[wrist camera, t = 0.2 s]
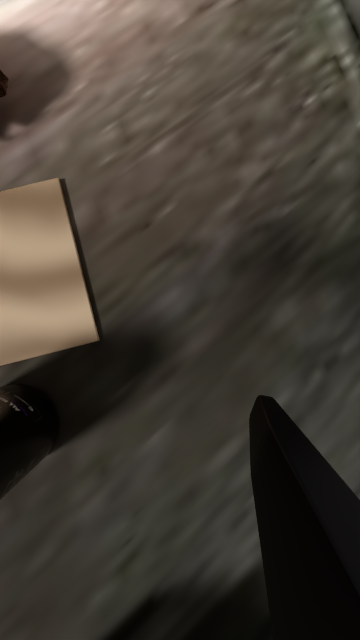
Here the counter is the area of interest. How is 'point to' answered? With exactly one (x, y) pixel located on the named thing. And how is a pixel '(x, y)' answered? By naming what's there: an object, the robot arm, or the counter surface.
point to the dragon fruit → (3, 84)
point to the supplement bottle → (24, 432)
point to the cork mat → (40, 276)
